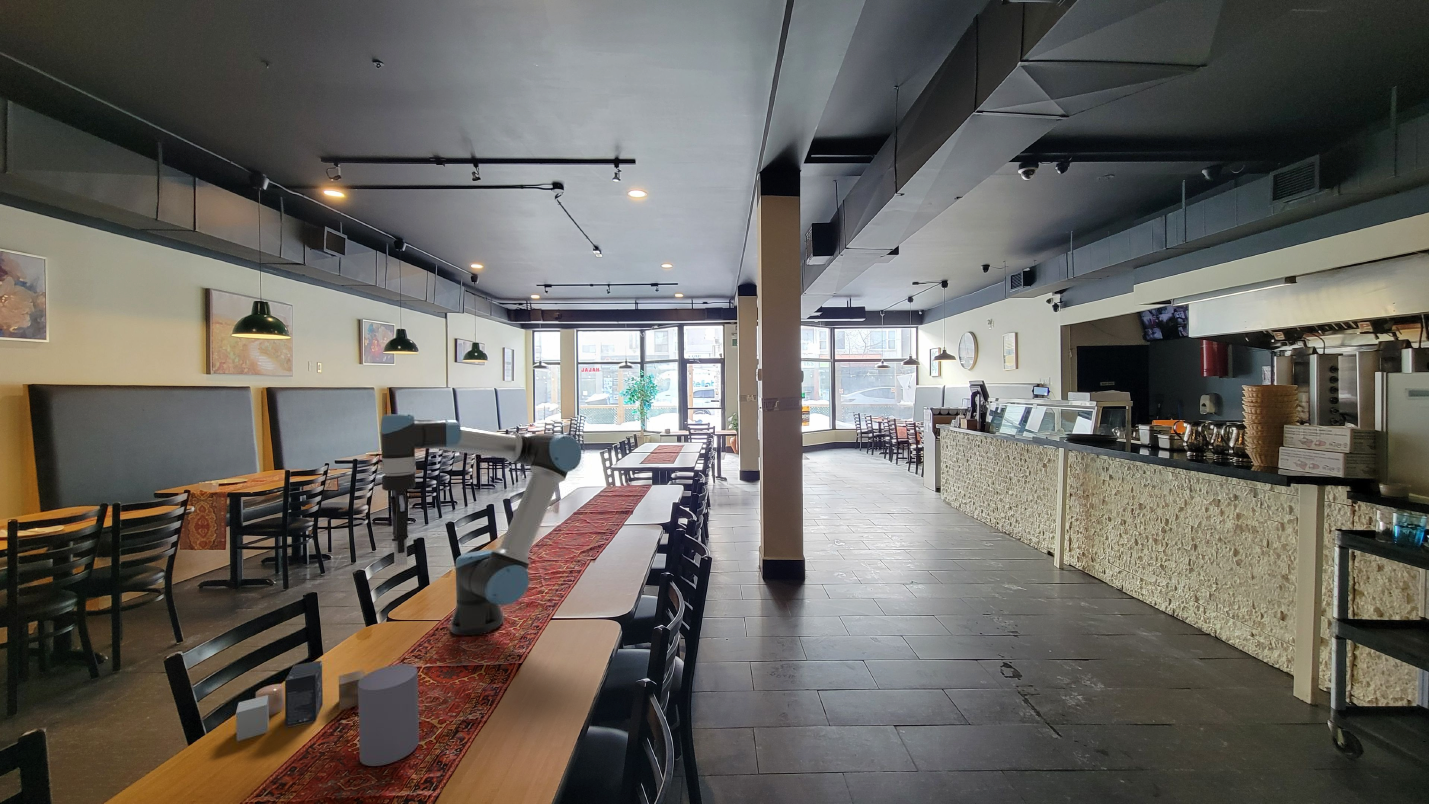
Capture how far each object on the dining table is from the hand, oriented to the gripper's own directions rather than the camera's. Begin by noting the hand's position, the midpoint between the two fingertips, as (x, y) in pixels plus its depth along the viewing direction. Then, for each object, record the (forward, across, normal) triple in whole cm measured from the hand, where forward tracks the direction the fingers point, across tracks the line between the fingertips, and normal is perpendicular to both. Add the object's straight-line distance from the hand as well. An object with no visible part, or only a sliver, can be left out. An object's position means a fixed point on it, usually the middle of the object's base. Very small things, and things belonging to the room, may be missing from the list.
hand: (400, 564), depth 143 cm
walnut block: (+29, +8, -11) cm, 32 cm away
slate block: (+29, +8, -29) cm, 42 cm away
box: (+29, +8, -20) cm, 36 cm away
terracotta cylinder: (+29, +1, -27) cm, 39 cm away
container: (+29, +35, -6) cm, 45 cm away
